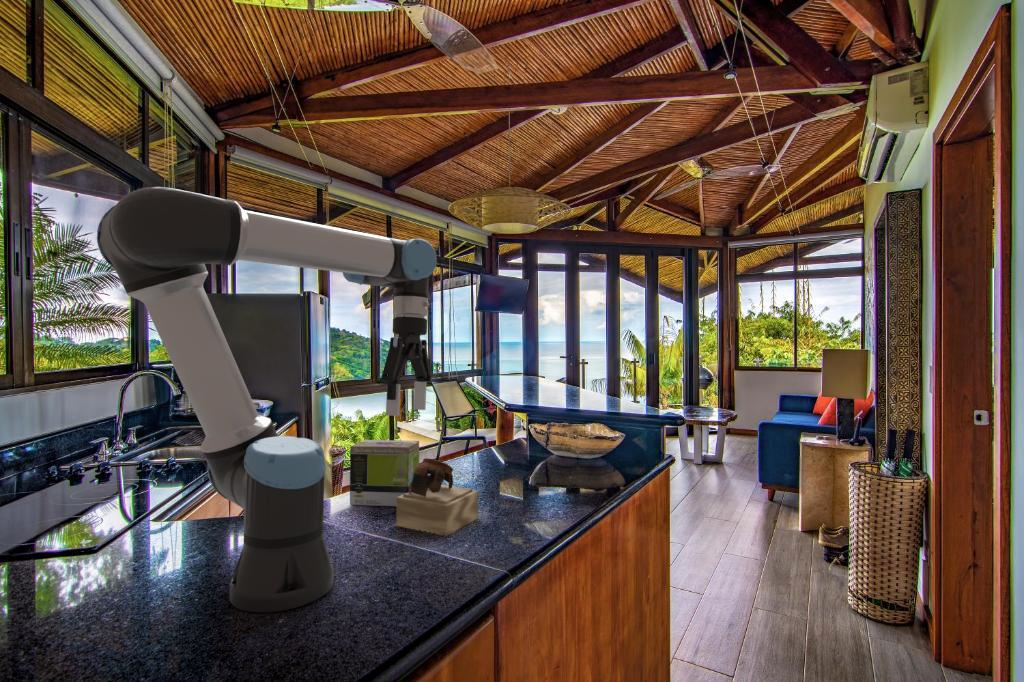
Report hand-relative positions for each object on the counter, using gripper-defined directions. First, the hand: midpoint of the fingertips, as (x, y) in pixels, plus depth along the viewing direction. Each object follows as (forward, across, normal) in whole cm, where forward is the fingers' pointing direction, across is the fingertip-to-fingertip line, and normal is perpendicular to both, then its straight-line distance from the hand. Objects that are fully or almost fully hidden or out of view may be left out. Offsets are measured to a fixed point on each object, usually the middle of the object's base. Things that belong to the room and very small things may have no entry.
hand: (406, 412), depth 115 cm
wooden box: (+25, +3, -7) cm, 26 cm away
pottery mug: (+18, +2, -6) cm, 19 cm away
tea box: (+24, +14, +12) cm, 31 cm away
